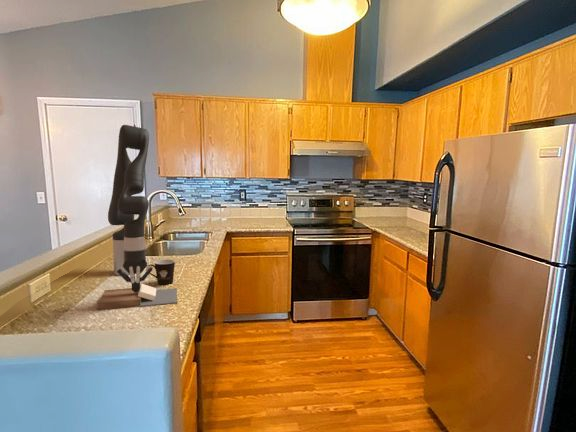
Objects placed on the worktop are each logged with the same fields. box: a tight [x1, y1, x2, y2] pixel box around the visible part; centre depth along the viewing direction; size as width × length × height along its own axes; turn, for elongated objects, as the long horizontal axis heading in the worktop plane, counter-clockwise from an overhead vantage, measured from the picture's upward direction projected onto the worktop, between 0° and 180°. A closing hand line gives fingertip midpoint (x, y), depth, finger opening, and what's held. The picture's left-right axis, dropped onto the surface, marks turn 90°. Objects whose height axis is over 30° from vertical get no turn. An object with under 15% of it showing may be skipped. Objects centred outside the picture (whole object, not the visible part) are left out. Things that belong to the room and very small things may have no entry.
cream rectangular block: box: [138, 283, 157, 301], centre depth 127 cm, size 9×6×2 cm, turn 20°
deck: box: [96, 287, 142, 311], centre depth 124 cm, size 14×14×2 cm
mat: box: [139, 287, 178, 308], centre depth 129 cm, size 16×13×1 cm
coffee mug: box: [148, 258, 176, 287], centre depth 146 cm, size 12×9×10 cm
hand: (136, 291), depth 125 cm, fingers closed
